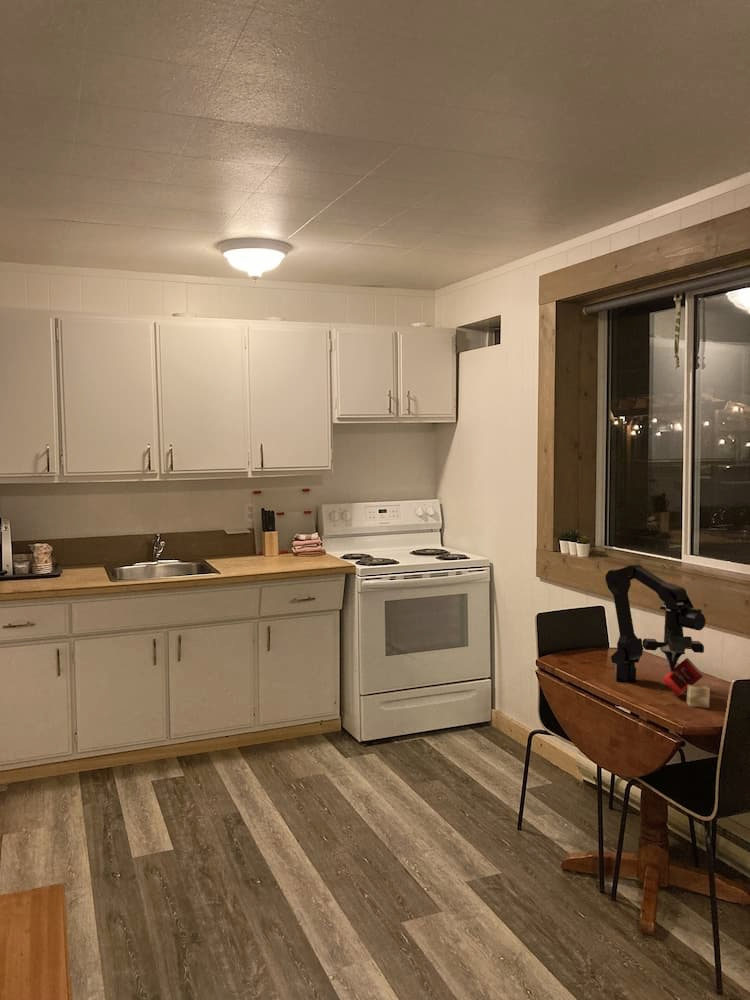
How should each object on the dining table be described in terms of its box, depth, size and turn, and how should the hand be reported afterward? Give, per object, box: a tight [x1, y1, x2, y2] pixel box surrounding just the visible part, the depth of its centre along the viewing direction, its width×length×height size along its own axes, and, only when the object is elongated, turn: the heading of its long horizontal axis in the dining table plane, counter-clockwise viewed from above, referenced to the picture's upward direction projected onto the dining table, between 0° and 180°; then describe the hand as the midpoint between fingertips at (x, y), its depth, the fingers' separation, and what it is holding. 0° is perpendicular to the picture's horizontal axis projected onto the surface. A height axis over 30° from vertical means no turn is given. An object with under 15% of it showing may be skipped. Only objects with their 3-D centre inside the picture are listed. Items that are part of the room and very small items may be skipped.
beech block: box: [686, 684, 711, 708], centre depth 272 cm, size 6×4×6 cm, turn 83°
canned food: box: [662, 657, 704, 697], centre depth 280 cm, size 8×8×11 cm
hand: (671, 671), depth 281 cm, fingers closed
